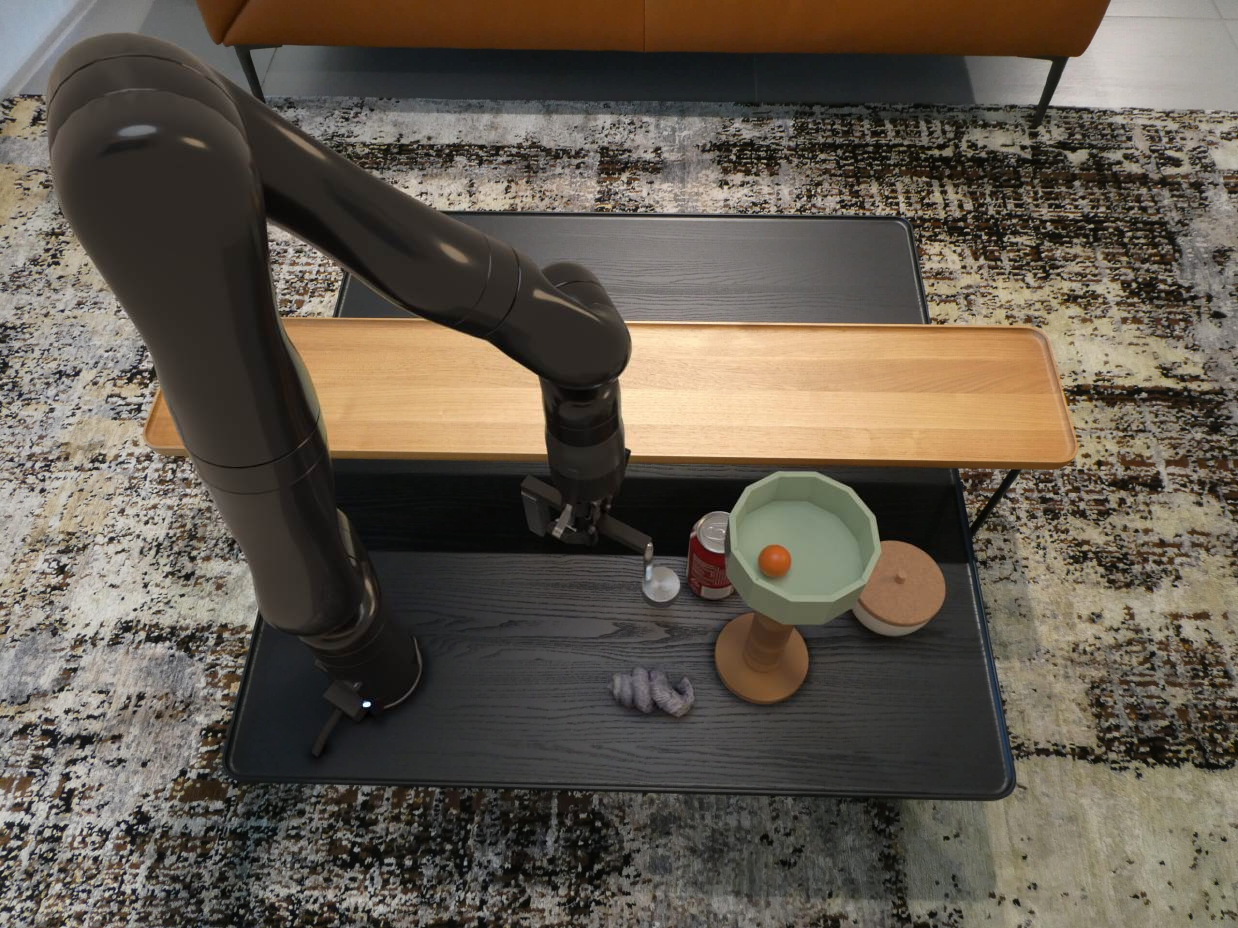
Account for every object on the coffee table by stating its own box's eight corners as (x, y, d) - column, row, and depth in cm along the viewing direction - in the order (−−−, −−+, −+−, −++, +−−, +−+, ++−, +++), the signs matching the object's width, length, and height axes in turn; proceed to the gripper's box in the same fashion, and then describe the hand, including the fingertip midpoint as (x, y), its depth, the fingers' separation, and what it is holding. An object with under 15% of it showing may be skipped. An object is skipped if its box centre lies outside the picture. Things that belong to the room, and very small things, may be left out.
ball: (791, 559, 74) (795, 581, 76) (786, 535, 77) (791, 556, 78) (757, 565, 75) (762, 586, 77) (754, 540, 77) (759, 562, 79)
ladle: (686, 585, 97) (690, 544, 89) (667, 615, 95) (670, 576, 87) (543, 510, 103) (535, 465, 95) (523, 537, 101) (513, 494, 93)
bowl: (832, 650, 74) (844, 628, 70) (700, 581, 78) (703, 556, 74) (887, 537, 80) (901, 510, 76) (762, 478, 84) (768, 449, 80)
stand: (783, 721, 96) (826, 633, 75) (698, 674, 100) (716, 576, 78) (821, 643, 102) (872, 539, 80) (739, 600, 105) (767, 489, 83)
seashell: (693, 699, 99) (609, 695, 100) (695, 660, 98) (609, 655, 98) (693, 727, 94) (604, 722, 95) (695, 685, 93) (605, 681, 93)
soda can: (735, 606, 104) (746, 562, 94) (681, 596, 105) (686, 552, 95) (742, 558, 108) (753, 511, 98) (690, 549, 109) (695, 502, 99)
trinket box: (936, 589, 105) (960, 554, 98) (913, 663, 100) (936, 633, 92) (853, 556, 108) (870, 519, 100) (826, 626, 103) (842, 594, 95)
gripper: (590, 381, 85) (597, 474, 99) (512, 480, 78) (531, 564, 93) (655, 411, 82) (652, 502, 97) (580, 515, 76) (589, 596, 90)
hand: (593, 532), depth 95 cm, fingers closed on ladle
